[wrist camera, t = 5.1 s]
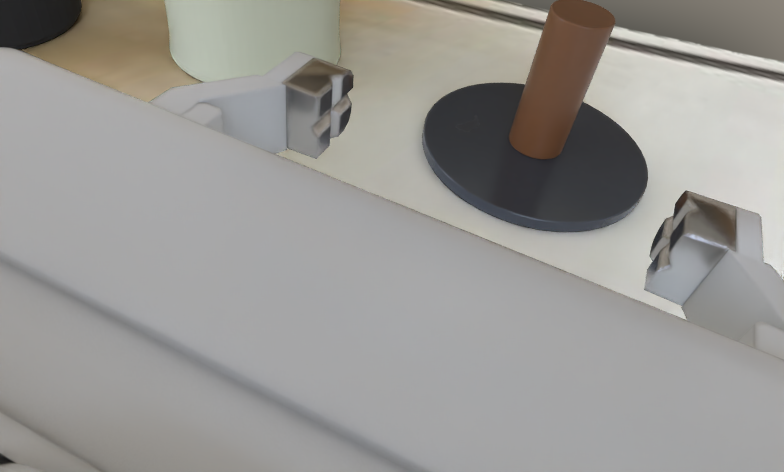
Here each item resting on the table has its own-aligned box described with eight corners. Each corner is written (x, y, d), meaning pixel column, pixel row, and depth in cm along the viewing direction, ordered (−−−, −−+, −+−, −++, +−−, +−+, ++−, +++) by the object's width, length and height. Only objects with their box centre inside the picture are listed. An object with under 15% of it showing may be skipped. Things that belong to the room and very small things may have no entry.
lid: (618, 108, 31) (680, -20, 26) (668, 249, 23) (767, 107, 18) (427, 78, 31) (451, -56, 26) (414, 212, 23) (445, 58, 18)
